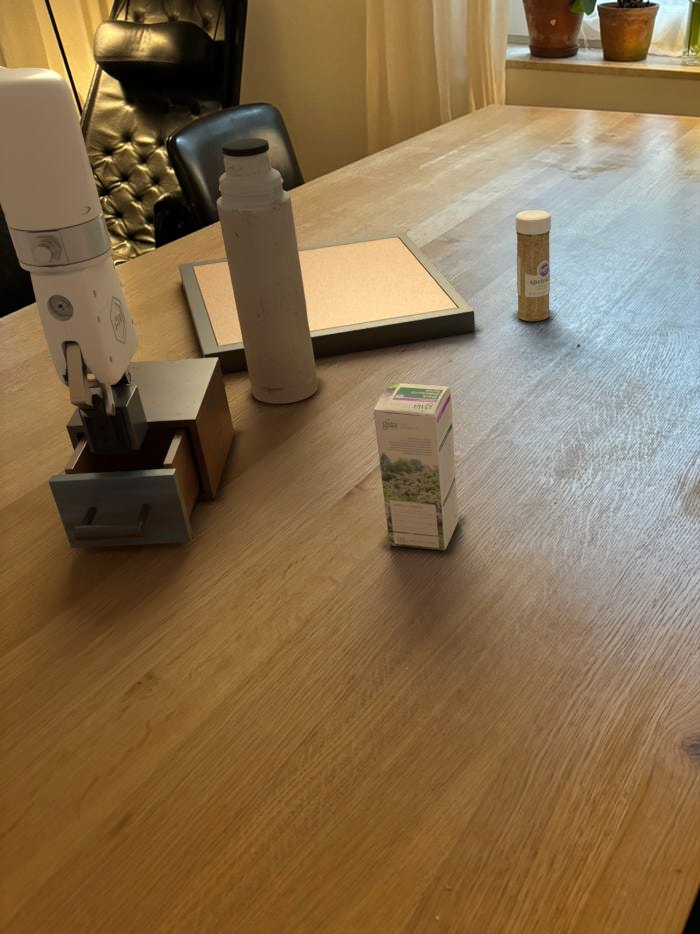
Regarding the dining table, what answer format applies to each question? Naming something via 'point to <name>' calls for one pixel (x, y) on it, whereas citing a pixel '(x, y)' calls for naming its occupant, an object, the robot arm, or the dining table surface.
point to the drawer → (130, 492)
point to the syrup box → (417, 464)
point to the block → (126, 414)
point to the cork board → (338, 299)
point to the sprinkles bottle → (533, 264)
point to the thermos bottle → (265, 274)
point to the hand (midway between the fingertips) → (119, 437)
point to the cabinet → (183, 410)
